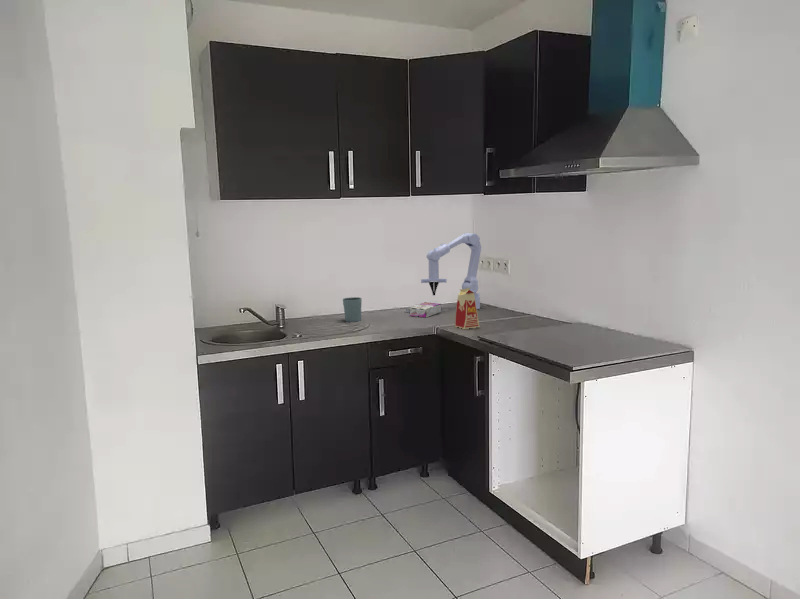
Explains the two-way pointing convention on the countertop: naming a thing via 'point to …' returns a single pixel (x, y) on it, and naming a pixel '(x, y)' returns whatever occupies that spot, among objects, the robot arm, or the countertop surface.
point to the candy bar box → (425, 309)
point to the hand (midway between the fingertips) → (434, 295)
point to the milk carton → (466, 310)
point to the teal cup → (352, 309)
